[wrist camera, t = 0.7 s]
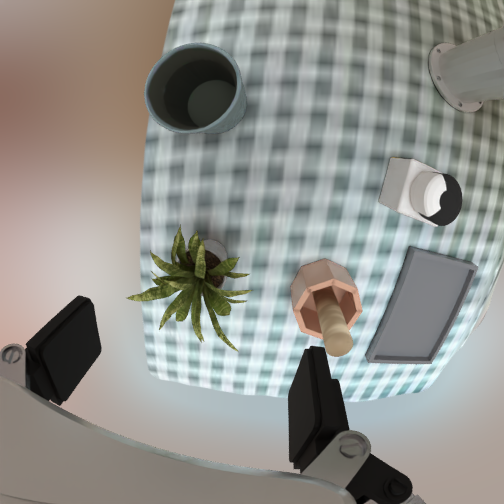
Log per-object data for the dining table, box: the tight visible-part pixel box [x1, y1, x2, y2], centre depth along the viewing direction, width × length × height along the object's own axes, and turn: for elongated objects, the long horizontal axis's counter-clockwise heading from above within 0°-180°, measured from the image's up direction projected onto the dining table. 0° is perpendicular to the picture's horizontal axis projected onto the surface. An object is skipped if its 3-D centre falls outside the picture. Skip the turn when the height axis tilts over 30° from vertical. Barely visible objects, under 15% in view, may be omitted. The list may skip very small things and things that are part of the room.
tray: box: [365, 246, 478, 364], centre depth 41 cm, size 22×16×2 cm
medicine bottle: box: [379, 157, 462, 227], centre depth 30 cm, size 7×7×12 cm
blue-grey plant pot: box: [144, 43, 247, 134], centre depth 28 cm, size 10×10×12 cm
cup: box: [290, 259, 362, 339], centre depth 39 cm, size 9×9×7 cm
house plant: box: [128, 224, 252, 351], centre depth 34 cm, size 14×14×16 cm
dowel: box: [312, 286, 353, 357], centre depth 35 cm, size 3×3×14 cm
